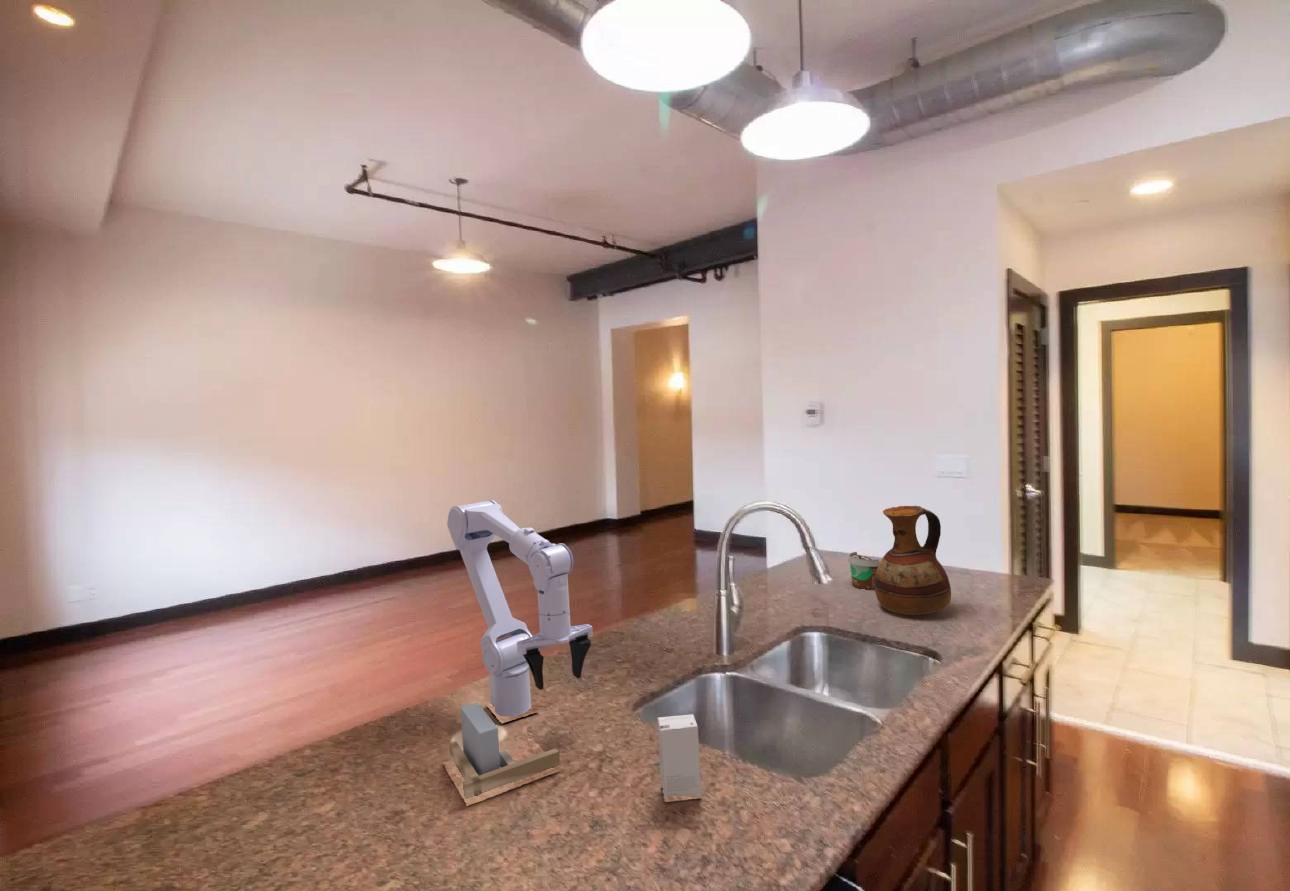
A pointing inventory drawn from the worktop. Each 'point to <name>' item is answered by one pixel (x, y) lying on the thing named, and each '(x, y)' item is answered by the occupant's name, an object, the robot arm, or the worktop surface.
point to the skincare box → (679, 755)
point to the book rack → (500, 769)
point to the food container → (863, 571)
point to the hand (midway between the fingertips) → (558, 681)
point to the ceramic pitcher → (912, 566)
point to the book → (479, 739)
